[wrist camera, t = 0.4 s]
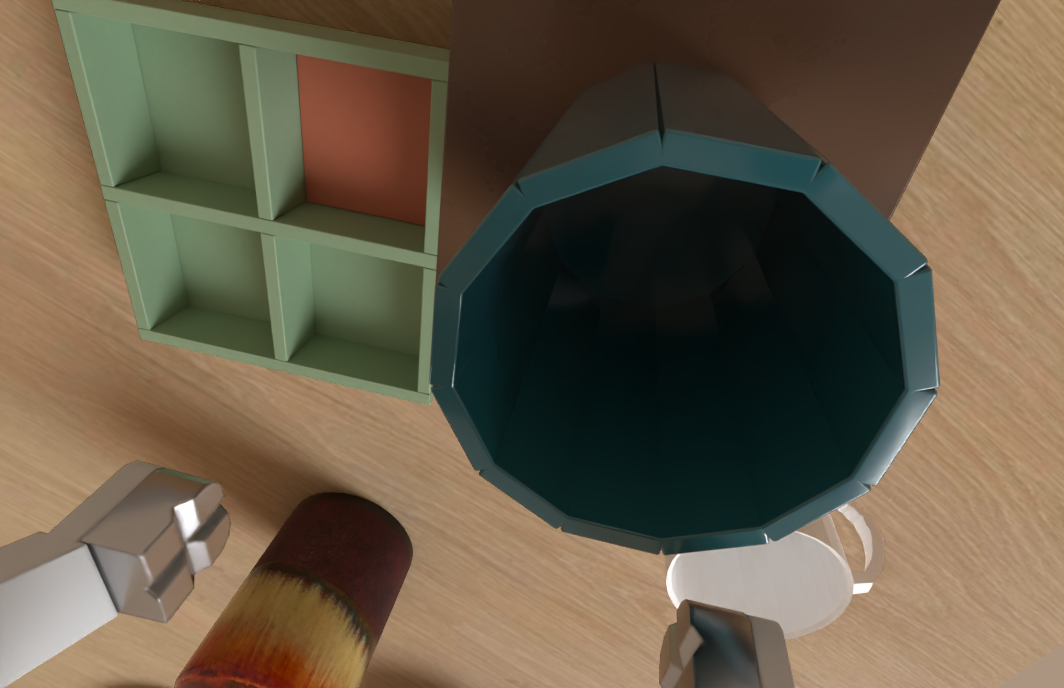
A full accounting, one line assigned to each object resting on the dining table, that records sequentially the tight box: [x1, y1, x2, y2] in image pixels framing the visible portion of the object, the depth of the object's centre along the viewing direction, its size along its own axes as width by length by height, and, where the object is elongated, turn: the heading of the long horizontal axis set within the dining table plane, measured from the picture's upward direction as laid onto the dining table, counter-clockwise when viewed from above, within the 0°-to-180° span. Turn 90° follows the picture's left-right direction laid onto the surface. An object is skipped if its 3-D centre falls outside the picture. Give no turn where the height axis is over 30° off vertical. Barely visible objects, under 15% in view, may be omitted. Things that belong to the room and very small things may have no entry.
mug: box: [665, 500, 885, 640], centre depth 33 cm, size 12×9×9 cm
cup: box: [429, 60, 940, 555], centre depth 12 cm, size 7×7×9 cm
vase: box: [174, 493, 413, 688], centre depth 39 cm, size 11×11×20 cm
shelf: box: [435, 0, 1001, 285], centre depth 21 cm, size 12×12×14 cm
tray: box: [52, 0, 449, 405], centre depth 31 cm, size 18×18×4 cm
